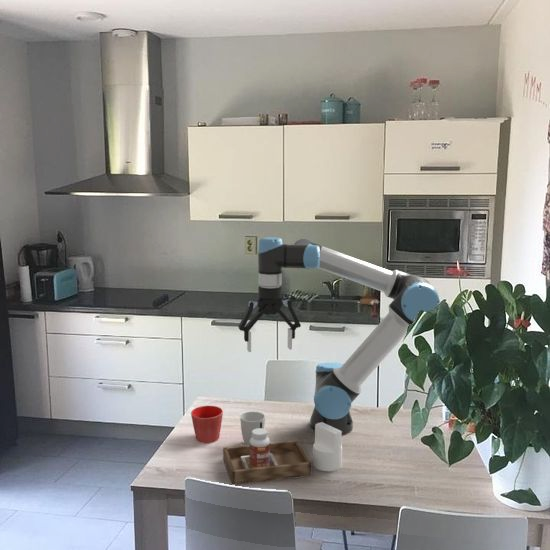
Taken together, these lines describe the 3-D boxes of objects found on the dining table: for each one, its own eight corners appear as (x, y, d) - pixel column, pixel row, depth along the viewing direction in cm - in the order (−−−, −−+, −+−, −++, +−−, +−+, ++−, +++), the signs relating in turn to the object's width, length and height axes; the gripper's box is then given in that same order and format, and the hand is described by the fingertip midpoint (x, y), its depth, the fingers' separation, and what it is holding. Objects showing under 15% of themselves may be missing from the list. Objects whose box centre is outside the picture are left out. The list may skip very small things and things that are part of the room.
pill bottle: (257, 472, 184) (257, 437, 182) (245, 464, 189) (245, 430, 187) (274, 466, 187) (274, 432, 186) (262, 458, 192) (261, 425, 190)
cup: (261, 451, 199) (262, 422, 197) (237, 449, 201) (237, 420, 199) (267, 440, 207) (267, 412, 205) (243, 438, 208) (243, 410, 207)
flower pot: (185, 443, 205) (185, 415, 203) (200, 429, 215) (199, 403, 213) (214, 447, 201) (214, 419, 200) (228, 434, 212) (227, 407, 210)
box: (297, 451, 199) (297, 440, 198) (311, 475, 184) (311, 463, 183) (223, 459, 193) (223, 447, 193) (231, 484, 178) (231, 472, 177)
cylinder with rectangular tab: (306, 463, 192) (307, 426, 189) (327, 454, 197) (328, 419, 195) (327, 474, 185) (328, 436, 183) (348, 465, 191) (349, 428, 188)
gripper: (304, 282, 204) (303, 344, 208) (229, 285, 198) (229, 348, 202) (310, 286, 197) (309, 350, 201) (233, 289, 191) (233, 355, 195)
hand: (269, 349), depth 201 cm, fingers open, 13 cm apart
